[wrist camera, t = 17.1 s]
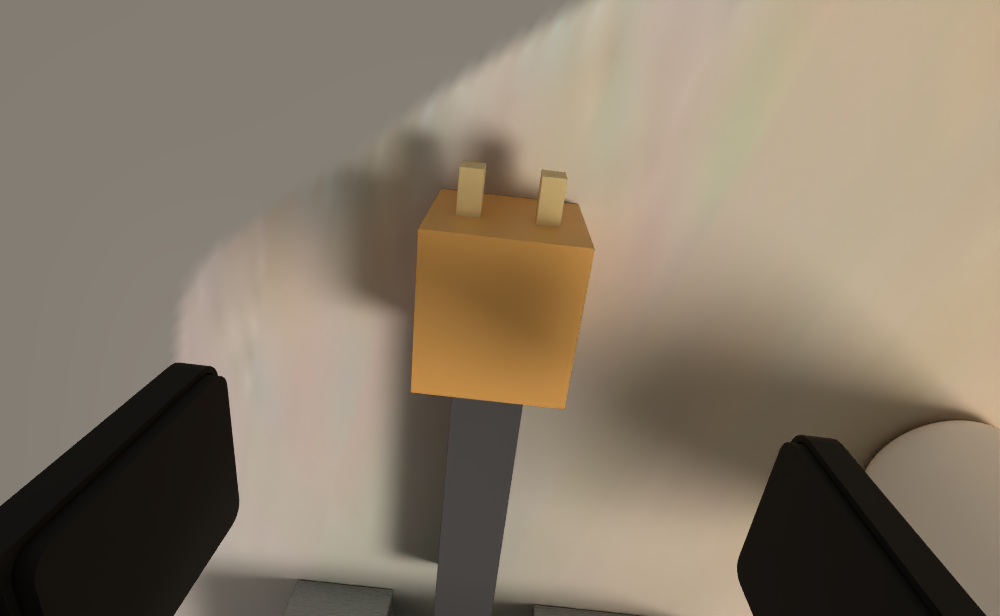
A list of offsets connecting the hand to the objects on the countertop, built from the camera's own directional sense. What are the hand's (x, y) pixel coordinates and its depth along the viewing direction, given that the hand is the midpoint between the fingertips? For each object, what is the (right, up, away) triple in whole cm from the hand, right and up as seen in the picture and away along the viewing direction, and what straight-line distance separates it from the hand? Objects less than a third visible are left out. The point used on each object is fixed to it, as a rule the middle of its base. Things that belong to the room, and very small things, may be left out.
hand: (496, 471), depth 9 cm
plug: (0, 0, +10) cm, 10 cm away
